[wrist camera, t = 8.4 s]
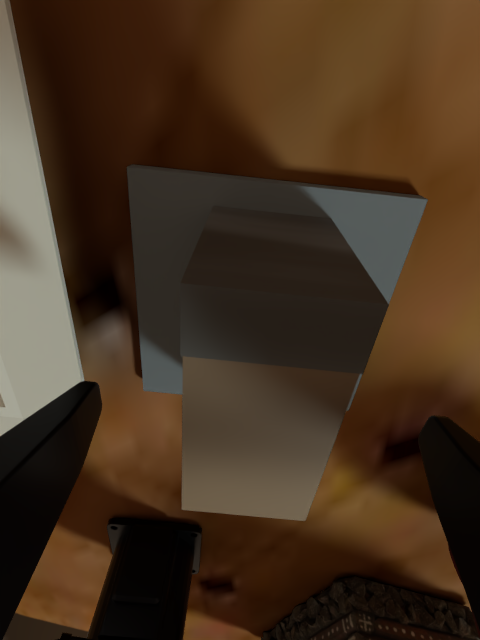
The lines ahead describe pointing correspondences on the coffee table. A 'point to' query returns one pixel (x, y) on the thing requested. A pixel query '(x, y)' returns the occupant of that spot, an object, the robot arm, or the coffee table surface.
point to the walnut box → (269, 358)
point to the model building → (375, 615)
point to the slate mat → (253, 194)
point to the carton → (28, 258)
